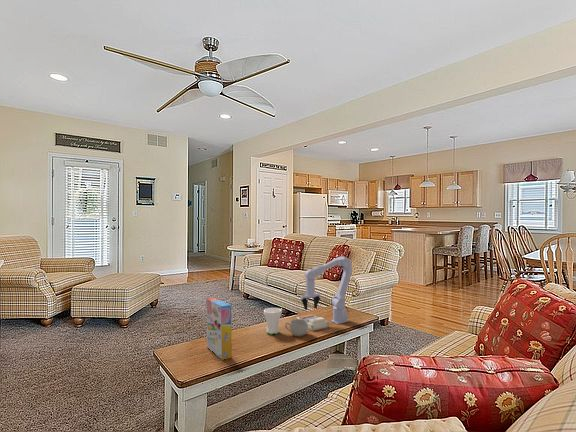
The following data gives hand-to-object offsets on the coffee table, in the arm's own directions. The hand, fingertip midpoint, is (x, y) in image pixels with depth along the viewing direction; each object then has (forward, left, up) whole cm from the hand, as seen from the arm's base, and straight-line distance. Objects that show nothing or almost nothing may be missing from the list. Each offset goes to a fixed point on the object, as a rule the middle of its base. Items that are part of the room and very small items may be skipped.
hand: (310, 308), depth 220 cm
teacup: (+18, +11, -11) cm, 24 cm away
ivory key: (0, +7, -7) cm, 10 cm away
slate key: (0, +1, -8) cm, 9 cm away
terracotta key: (0, -5, -8) cm, 10 cm away
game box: (+67, +12, -11) cm, 69 cm away
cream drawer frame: (0, +1, -10) cm, 10 cm away
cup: (+29, +1, -11) cm, 31 cm away
